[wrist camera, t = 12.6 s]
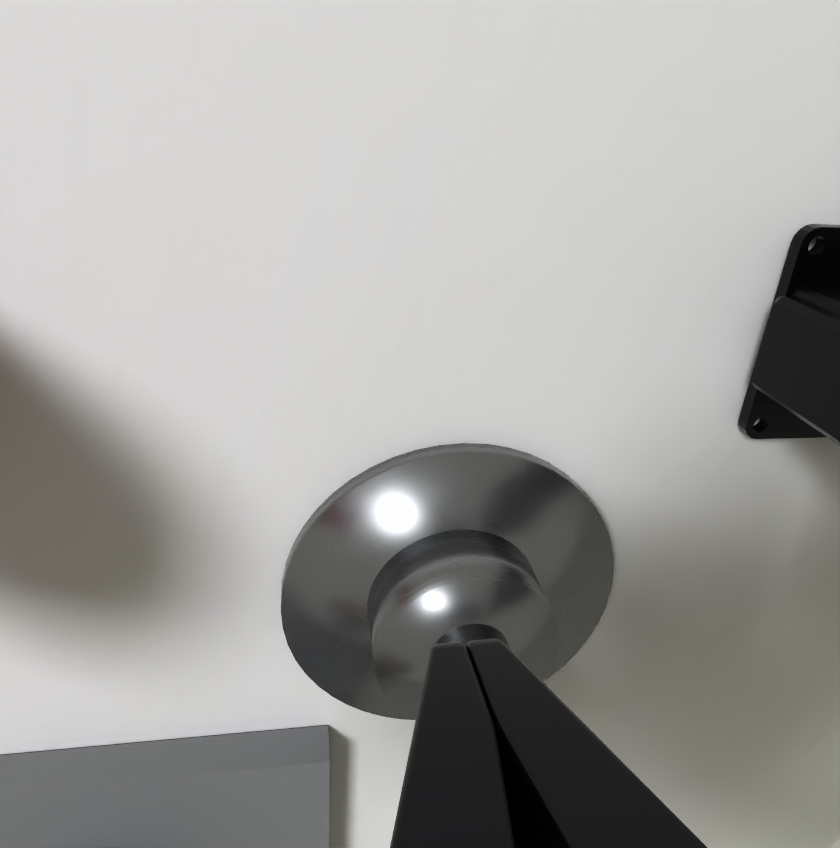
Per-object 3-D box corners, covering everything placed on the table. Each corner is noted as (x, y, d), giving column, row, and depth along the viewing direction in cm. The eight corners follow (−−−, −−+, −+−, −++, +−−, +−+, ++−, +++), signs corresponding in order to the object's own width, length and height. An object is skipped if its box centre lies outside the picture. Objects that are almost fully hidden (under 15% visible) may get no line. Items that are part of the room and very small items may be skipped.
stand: (634, 439, 22) (757, 571, 16) (577, 693, 26) (656, 864, 21) (276, 447, 20) (269, 600, 14) (285, 719, 25) (283, 915, 19)
